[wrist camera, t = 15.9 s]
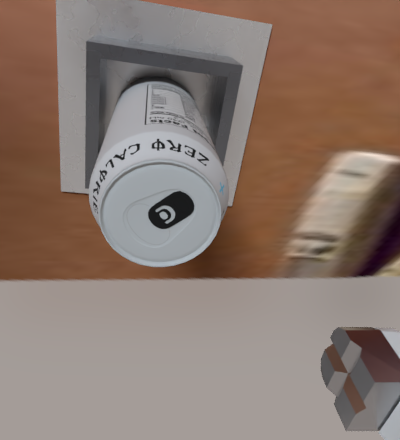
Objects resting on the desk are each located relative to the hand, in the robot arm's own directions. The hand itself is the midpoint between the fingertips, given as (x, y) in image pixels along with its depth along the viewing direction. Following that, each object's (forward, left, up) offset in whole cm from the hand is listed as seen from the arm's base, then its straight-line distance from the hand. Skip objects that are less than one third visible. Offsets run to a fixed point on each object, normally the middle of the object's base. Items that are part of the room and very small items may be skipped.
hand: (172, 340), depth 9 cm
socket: (0, 0, -23) cm, 23 cm away
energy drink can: (0, 0, -22) cm, 22 cm away
